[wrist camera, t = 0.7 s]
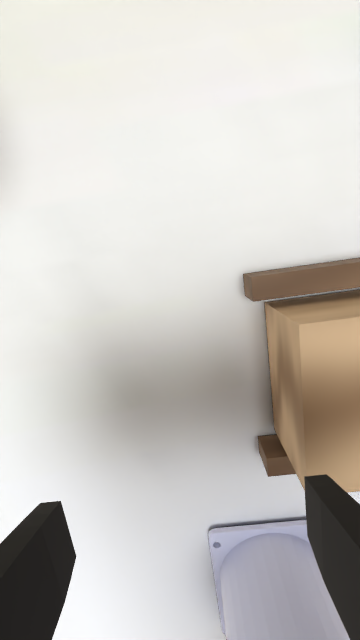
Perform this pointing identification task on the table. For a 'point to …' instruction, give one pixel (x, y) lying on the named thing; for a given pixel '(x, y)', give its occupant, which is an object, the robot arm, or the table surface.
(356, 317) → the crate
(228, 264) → the table surface
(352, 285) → the bay
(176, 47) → the table surface
